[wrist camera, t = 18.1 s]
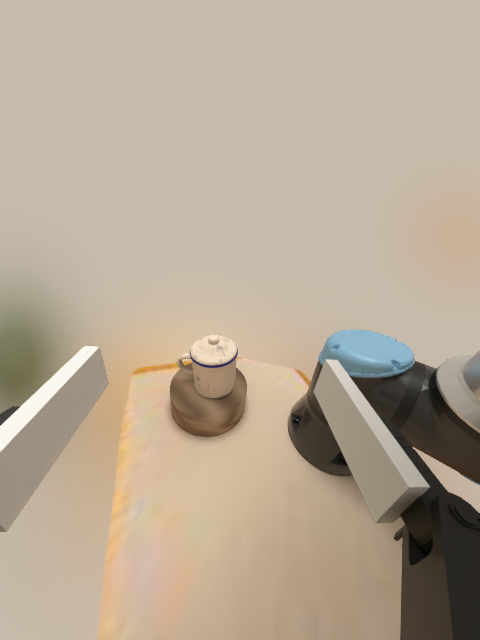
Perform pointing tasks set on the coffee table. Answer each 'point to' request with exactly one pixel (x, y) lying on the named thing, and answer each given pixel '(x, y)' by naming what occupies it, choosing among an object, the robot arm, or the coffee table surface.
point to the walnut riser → (205, 406)
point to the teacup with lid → (212, 365)
